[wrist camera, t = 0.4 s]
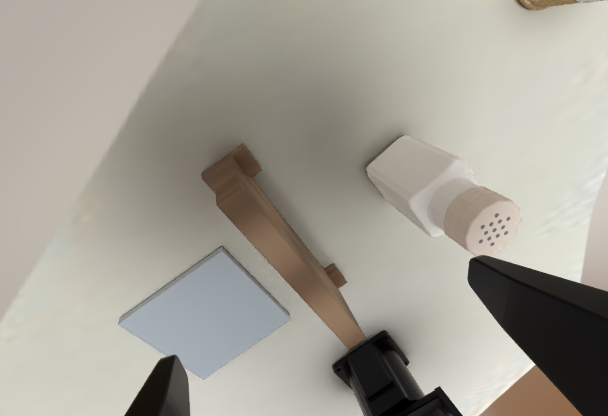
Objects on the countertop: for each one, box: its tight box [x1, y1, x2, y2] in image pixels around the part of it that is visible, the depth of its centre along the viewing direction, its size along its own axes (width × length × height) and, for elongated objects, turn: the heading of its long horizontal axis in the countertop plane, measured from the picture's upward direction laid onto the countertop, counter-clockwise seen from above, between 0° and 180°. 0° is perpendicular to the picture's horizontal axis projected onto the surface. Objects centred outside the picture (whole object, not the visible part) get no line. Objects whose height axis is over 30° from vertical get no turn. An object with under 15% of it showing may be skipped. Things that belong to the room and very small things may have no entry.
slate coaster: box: [118, 246, 291, 380], centre depth 25 cm, size 9×9×1 cm
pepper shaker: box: [366, 135, 521, 257], centre depth 20 cm, size 4×4×10 cm
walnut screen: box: [202, 144, 366, 349], centre depth 21 cm, size 14×3×6 cm, turn 32°
